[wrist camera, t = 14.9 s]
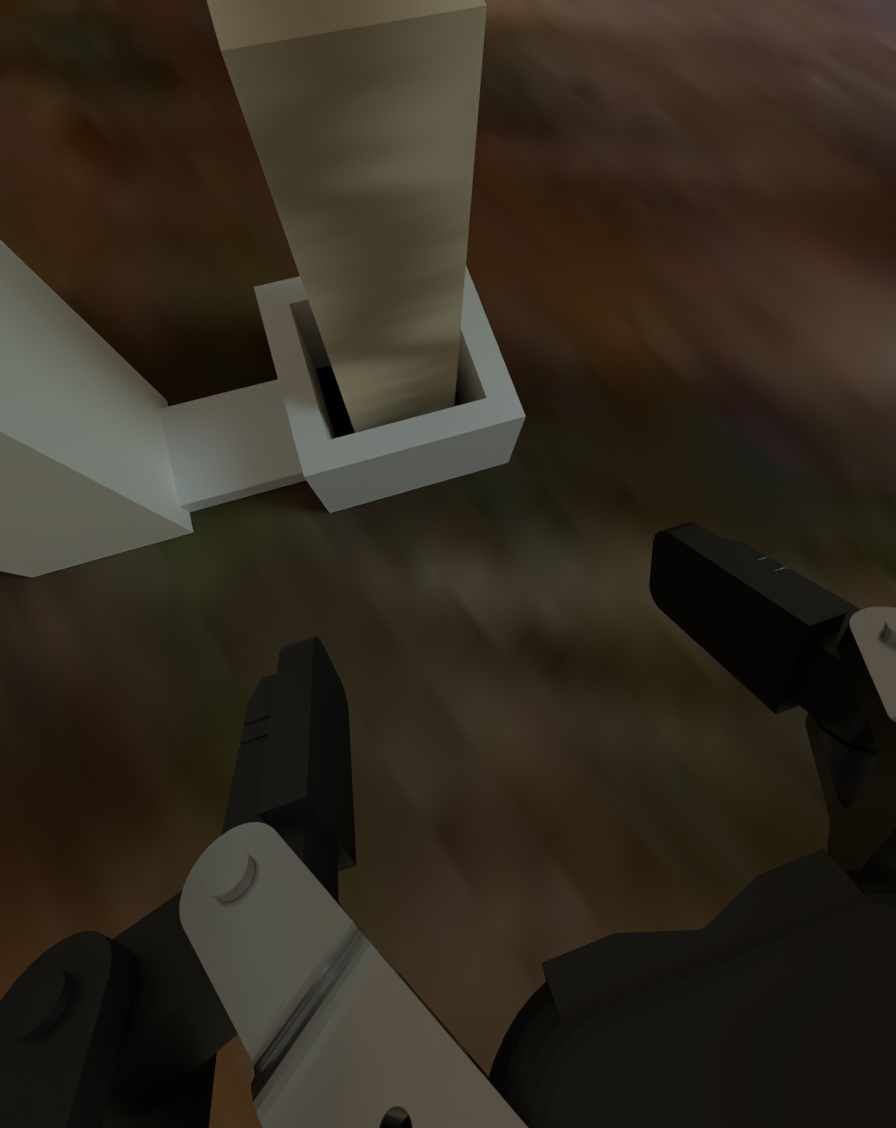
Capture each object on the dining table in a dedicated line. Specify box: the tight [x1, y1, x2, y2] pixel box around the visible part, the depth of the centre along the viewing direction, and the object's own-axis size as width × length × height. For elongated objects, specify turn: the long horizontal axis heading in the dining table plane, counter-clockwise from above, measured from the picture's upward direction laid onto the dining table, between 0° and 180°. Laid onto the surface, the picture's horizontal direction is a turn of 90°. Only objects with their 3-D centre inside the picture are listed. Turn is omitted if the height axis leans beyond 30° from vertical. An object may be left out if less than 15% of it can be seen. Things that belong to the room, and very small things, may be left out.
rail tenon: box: [207, 0, 487, 433], centre depth 14 cm, size 4×4×14 cm
